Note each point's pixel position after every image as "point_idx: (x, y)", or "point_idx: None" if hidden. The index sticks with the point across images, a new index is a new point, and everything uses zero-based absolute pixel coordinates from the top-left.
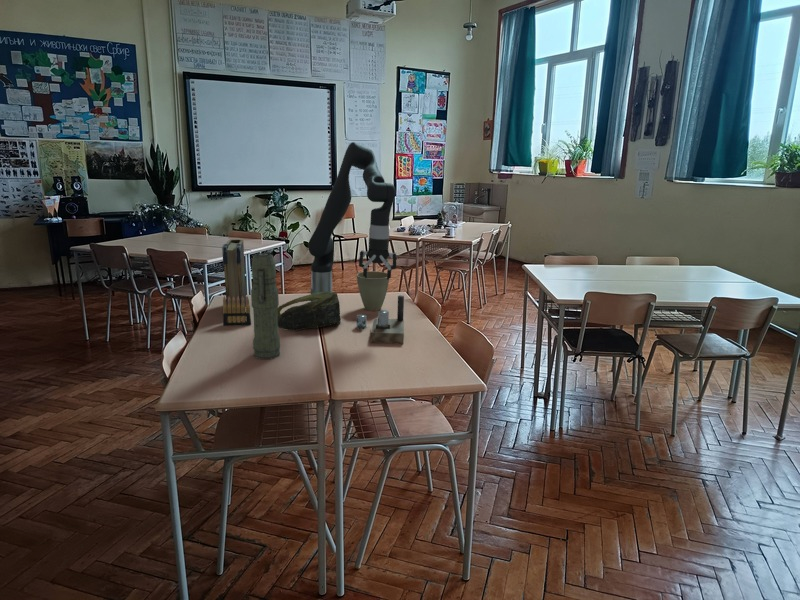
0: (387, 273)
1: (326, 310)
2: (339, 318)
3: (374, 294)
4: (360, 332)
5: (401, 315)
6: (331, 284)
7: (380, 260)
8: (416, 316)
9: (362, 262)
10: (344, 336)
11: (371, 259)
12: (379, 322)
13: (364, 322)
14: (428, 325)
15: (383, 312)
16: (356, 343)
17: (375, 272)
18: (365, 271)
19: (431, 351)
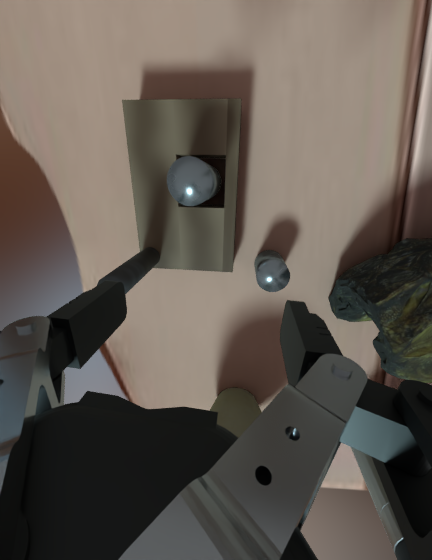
0: (88, 302)
1: (421, 260)
2: (344, 276)
3: (231, 420)
4: (273, 219)
5: (139, 252)
6: (371, 477)
7: (67, 449)
8: (131, 350)
9: (391, 477)
10: (327, 174)
11: (261, 484)
12: (210, 166)
13: (262, 258)
14: (93, 286)
15: (188, 169)
16: (291, 98)
17: None
18: (314, 332)
19: (41, 31)
